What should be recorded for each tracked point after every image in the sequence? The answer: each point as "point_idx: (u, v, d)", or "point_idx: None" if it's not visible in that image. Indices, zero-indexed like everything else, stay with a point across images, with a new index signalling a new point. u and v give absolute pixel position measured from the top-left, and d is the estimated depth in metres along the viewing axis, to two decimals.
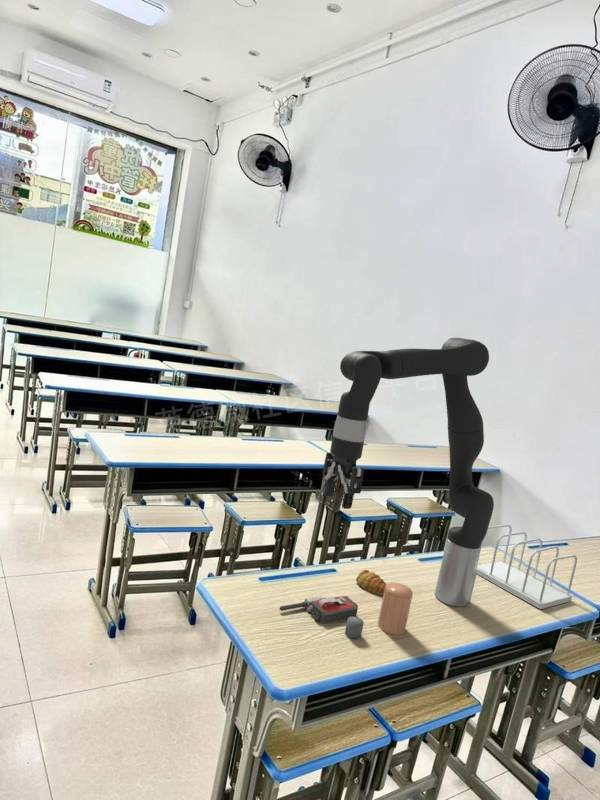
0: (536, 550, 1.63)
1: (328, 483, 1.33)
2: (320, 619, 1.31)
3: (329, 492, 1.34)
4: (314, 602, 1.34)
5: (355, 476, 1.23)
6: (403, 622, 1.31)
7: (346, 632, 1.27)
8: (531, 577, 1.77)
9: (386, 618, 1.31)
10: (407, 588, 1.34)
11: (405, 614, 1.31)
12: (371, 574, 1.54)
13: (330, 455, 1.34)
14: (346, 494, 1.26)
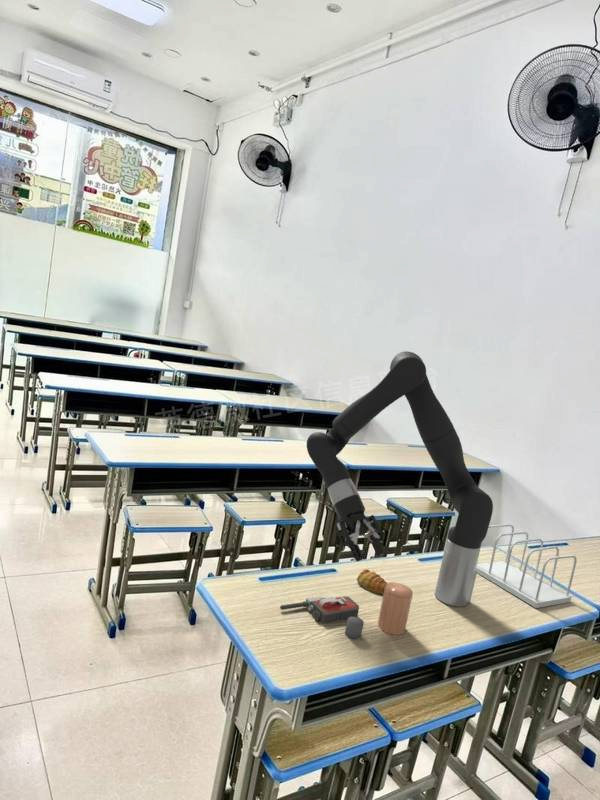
0: (533, 549, 1.63)
1: (372, 544, 1.44)
2: (320, 619, 1.31)
3: (378, 551, 1.43)
4: (315, 602, 1.34)
5: (337, 531, 1.39)
6: (403, 622, 1.31)
7: (346, 632, 1.27)
8: (532, 577, 1.77)
9: (386, 618, 1.31)
10: (407, 588, 1.34)
11: (405, 614, 1.31)
12: (372, 574, 1.55)
13: None
14: None
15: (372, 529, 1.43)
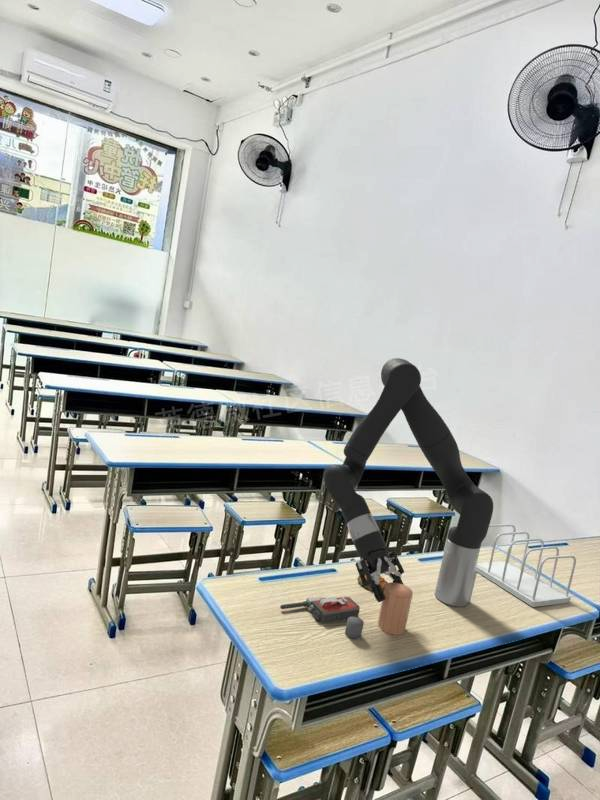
0: None
1: (393, 582, 1.39)
2: (320, 619, 1.31)
3: None
4: (315, 602, 1.35)
5: (358, 569, 1.33)
6: (403, 622, 1.31)
7: (346, 632, 1.27)
8: (532, 577, 1.77)
9: (386, 618, 1.31)
10: (407, 588, 1.34)
11: (405, 614, 1.31)
12: None
13: None
14: None
15: (393, 567, 1.38)
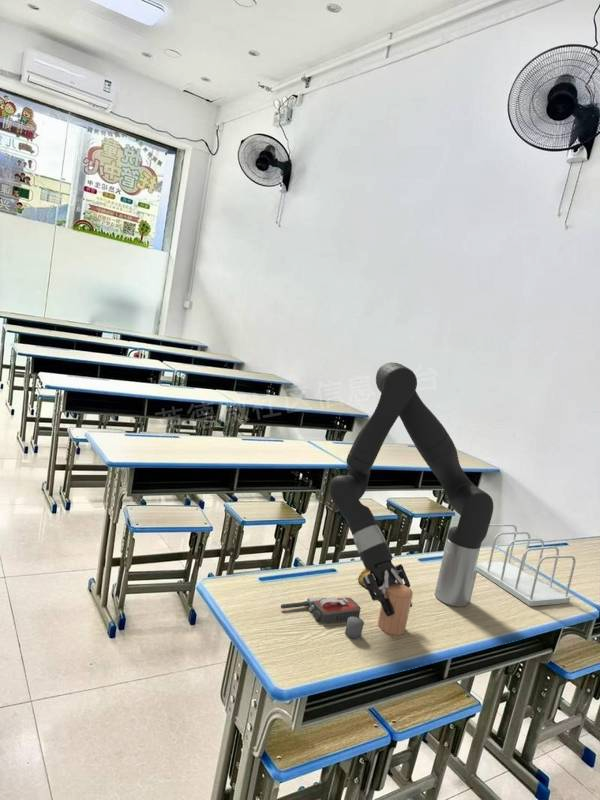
0: (530, 548, 1.64)
1: None
2: (320, 619, 1.31)
3: None
4: (316, 602, 1.35)
5: (366, 584, 1.32)
6: (403, 622, 1.31)
7: (346, 632, 1.27)
8: (533, 578, 1.77)
9: (386, 618, 1.31)
10: (407, 588, 1.34)
11: (405, 614, 1.31)
12: None
13: None
14: None
15: (400, 580, 1.36)
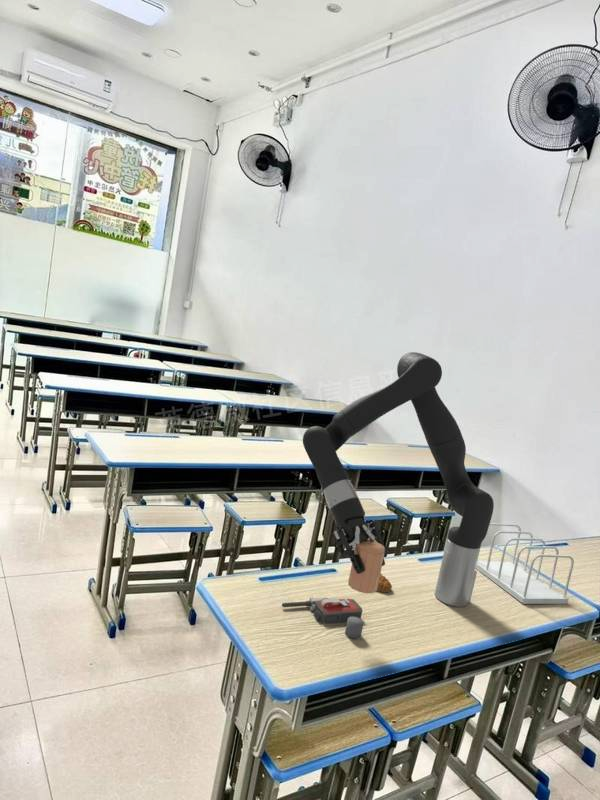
0: (526, 546, 1.65)
1: None
2: (320, 618, 1.31)
3: None
4: (317, 602, 1.35)
5: (335, 540, 1.24)
6: (374, 580, 1.23)
7: (346, 632, 1.27)
8: (534, 578, 1.77)
9: (356, 576, 1.23)
10: (379, 545, 1.26)
11: (377, 571, 1.23)
12: None
13: None
14: None
15: (372, 537, 1.28)
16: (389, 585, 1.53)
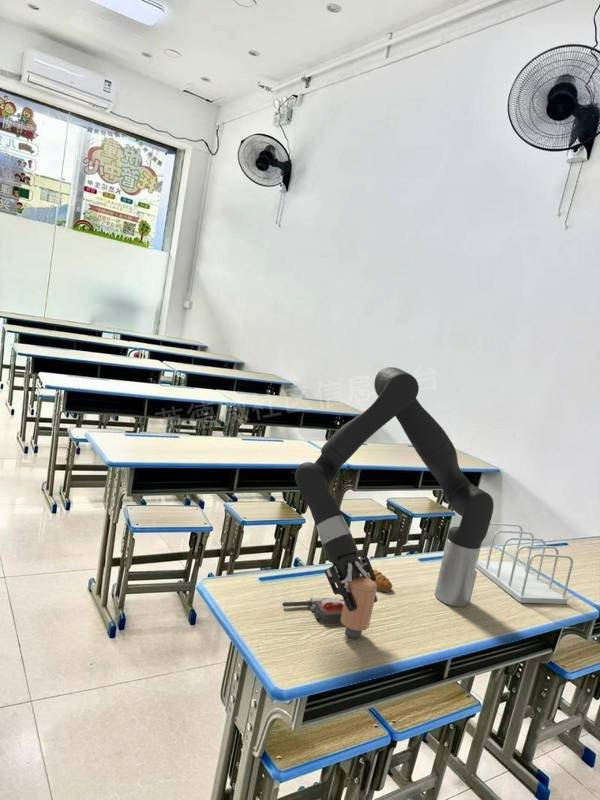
0: None
1: None
2: (320, 618, 1.31)
3: None
4: (317, 601, 1.35)
5: (328, 577, 1.25)
6: (366, 617, 1.24)
7: (346, 632, 1.27)
8: (534, 578, 1.77)
9: (348, 613, 1.25)
10: (372, 582, 1.27)
11: (369, 608, 1.24)
12: (374, 571, 1.56)
13: None
14: None
15: (365, 574, 1.29)
16: (389, 584, 1.53)
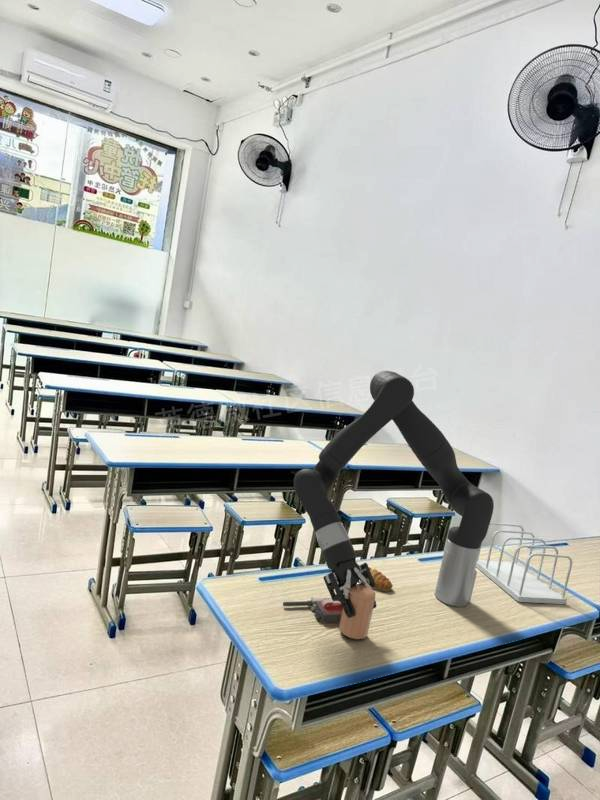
0: (523, 545, 1.66)
1: None
2: (320, 618, 1.31)
3: None
4: (318, 602, 1.35)
5: (327, 584, 1.25)
6: (365, 626, 1.25)
7: None
8: (534, 578, 1.77)
9: (347, 621, 1.25)
10: (370, 590, 1.28)
11: (367, 617, 1.25)
12: (374, 571, 1.56)
13: None
14: None
15: (364, 580, 1.30)
16: (390, 584, 1.53)
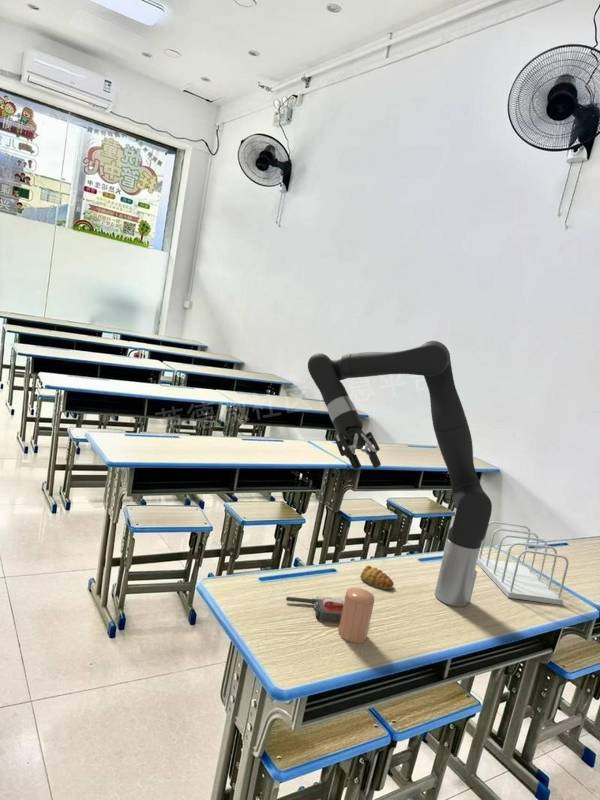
0: None
1: (370, 457, 1.51)
2: (319, 616, 1.32)
3: (375, 464, 1.49)
4: (320, 600, 1.36)
5: (336, 442, 1.45)
6: (364, 630, 1.25)
7: None
8: (536, 579, 1.76)
9: (346, 625, 1.25)
10: (369, 594, 1.28)
11: (366, 621, 1.25)
12: (375, 570, 1.58)
13: None
14: None
15: (369, 443, 1.50)
16: (391, 582, 1.55)
